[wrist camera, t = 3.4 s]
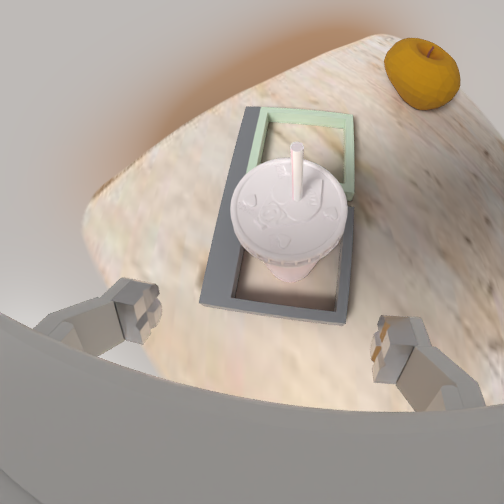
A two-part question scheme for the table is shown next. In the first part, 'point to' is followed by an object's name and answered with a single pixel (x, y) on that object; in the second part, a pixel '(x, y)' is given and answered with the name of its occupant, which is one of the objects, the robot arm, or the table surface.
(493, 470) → the robot arm
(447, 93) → the apple
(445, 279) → the table surface
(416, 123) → the table surface
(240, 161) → the rail
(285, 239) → the smoothie
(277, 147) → the table surface
